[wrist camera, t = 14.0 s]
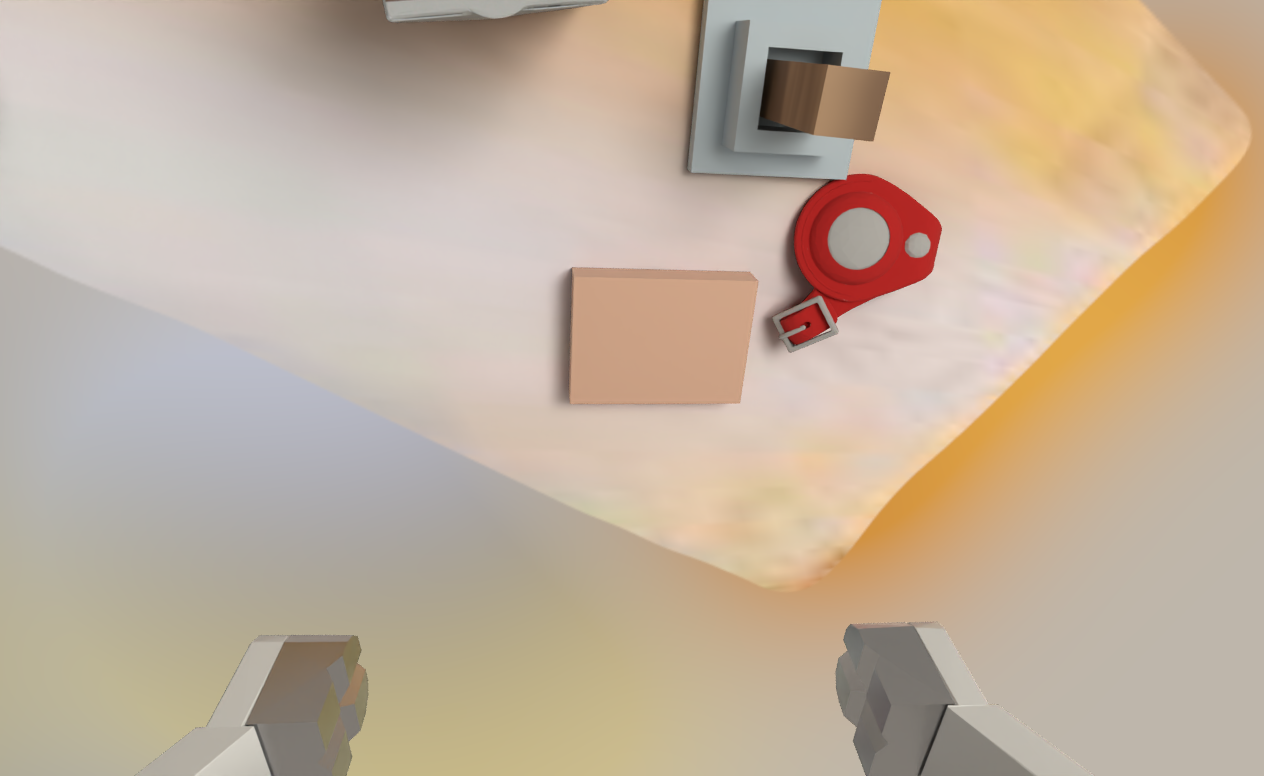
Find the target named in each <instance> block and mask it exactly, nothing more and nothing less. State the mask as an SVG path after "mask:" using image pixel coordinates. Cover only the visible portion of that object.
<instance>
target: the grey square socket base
mask: <svg viewBox="0 0 1264 776" xmlns="http://www.w3.org/2000/svg"><path fill="white" fill-rule="evenodd" d="M881 1H882V0H704V3H703V14H702V24H701V34H700V44H699V55H698V65H697V75H696V85H695V96H694V106H693V116H692V126H691V137H690V147H689V157H688V167H687V169H688V170H689V171H690V172H691V173H712V174H733V175H755V176H776V177H798V178H819V179H841V180H846V179H847V174H848V169H849V164H850V158H851V153H852V148H853V143H854V139H845V138H835V137H826V136H816V135H811V134H808V133H806V132H803V131H800V130H797V129H794V128H791V127H788V126H785V125H783V124H780V123H777V122H774V121H771V120H768V119H765V118H762V117H759V115H760V107H761V100H762V93H763V86H764V78H765V71H766V64H767V59H773V60H784V61H795V62H805V63H816V64H827V65H835V66H843V67H852V68H860V69H868V67H869V62H870V57H871V52H872V47H873V42H874V37H875V32H876V27H877V21H878V16H879V11H880V6H881Z"/></svg>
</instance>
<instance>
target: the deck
mask: <svg viewBox="0 0 1264 776" xmlns="http://www.w3.org/2000/svg"><path fill="white" fill-rule="evenodd" d="M757 288H758V280H757V279H756V278H755V277H754V276H753V275H752V274H751V273H750V272H732V271H693V270H654V269H614V268H575V267H572V291H571V327H570V363H569V398H570V404H709V403H740V400H741V393H742V386H743V380H744V373H745V367H746V360H747V354H748V347H749V340H750V334H751V327H752V321H753V314H754V307H755V301H756V294H757Z"/></svg>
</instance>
